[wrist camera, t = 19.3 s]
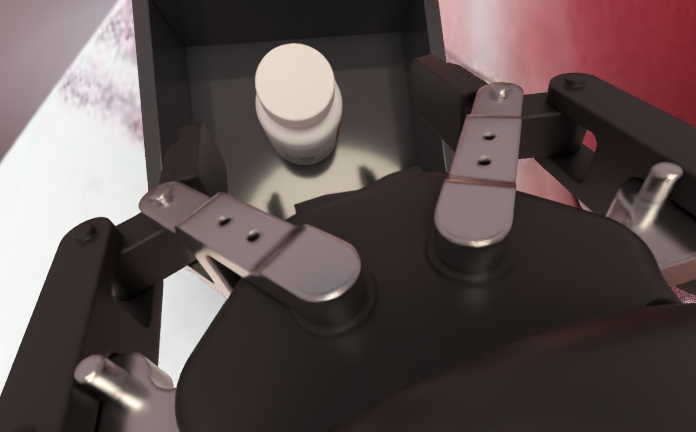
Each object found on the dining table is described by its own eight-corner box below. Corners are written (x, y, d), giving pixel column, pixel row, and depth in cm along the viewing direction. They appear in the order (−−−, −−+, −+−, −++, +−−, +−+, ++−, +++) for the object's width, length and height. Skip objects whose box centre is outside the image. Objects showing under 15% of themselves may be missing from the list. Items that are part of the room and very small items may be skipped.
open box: (408, 25, 24) (433, -38, 19) (432, 221, 24) (466, 216, 18) (175, 41, 23) (129, -21, 18) (194, 247, 23) (152, 252, 17)
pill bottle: (352, 139, 23) (366, 91, 15) (298, 179, 23) (285, 151, 15) (310, 85, 23) (304, 11, 15) (256, 125, 23) (221, 69, 15)
